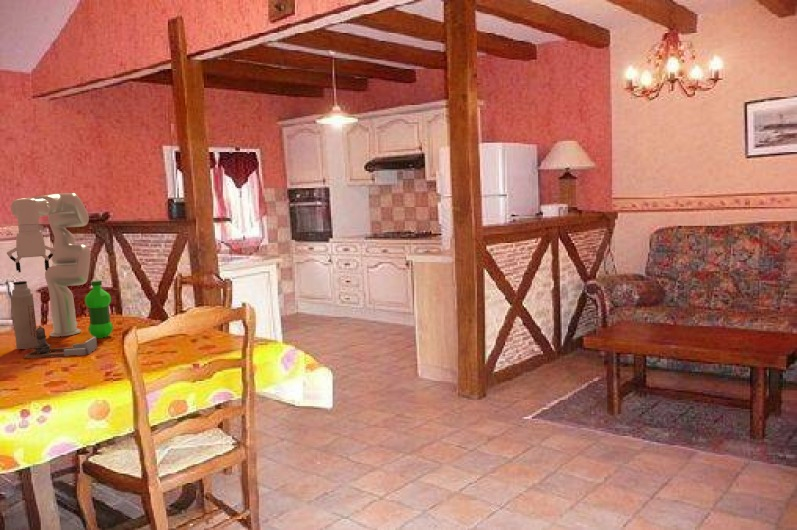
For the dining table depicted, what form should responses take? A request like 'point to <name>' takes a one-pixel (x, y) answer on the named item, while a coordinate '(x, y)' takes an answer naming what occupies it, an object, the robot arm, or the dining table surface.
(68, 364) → the dining table surface
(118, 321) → the dining table surface
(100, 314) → the plastic bottle
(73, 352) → the socket
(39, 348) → the dark grey chess piece
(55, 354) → the channel
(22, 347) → the thermos bottle
